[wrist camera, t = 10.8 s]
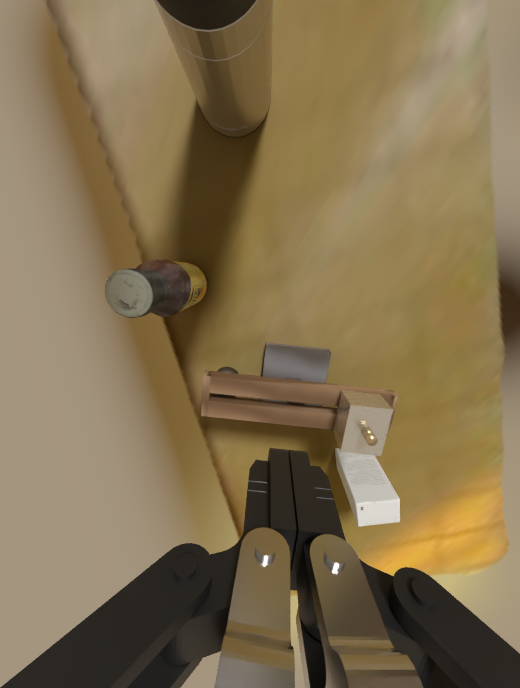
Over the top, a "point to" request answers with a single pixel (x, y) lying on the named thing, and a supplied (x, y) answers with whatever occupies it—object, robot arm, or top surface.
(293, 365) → the balance beam
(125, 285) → the sauce bottle
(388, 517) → the skincare box
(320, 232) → the top surface
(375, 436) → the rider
